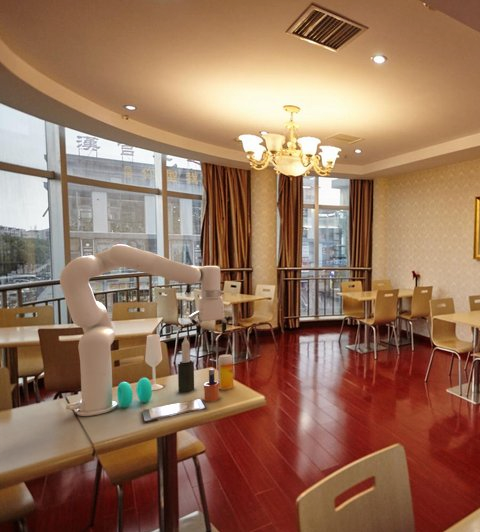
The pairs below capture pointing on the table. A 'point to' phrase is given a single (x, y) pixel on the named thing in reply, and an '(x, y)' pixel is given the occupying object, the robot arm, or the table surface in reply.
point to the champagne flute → (153, 356)
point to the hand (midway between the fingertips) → (211, 333)
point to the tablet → (172, 410)
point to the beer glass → (225, 371)
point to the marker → (211, 377)
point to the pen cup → (211, 391)
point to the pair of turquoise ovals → (126, 394)
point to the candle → (185, 370)
